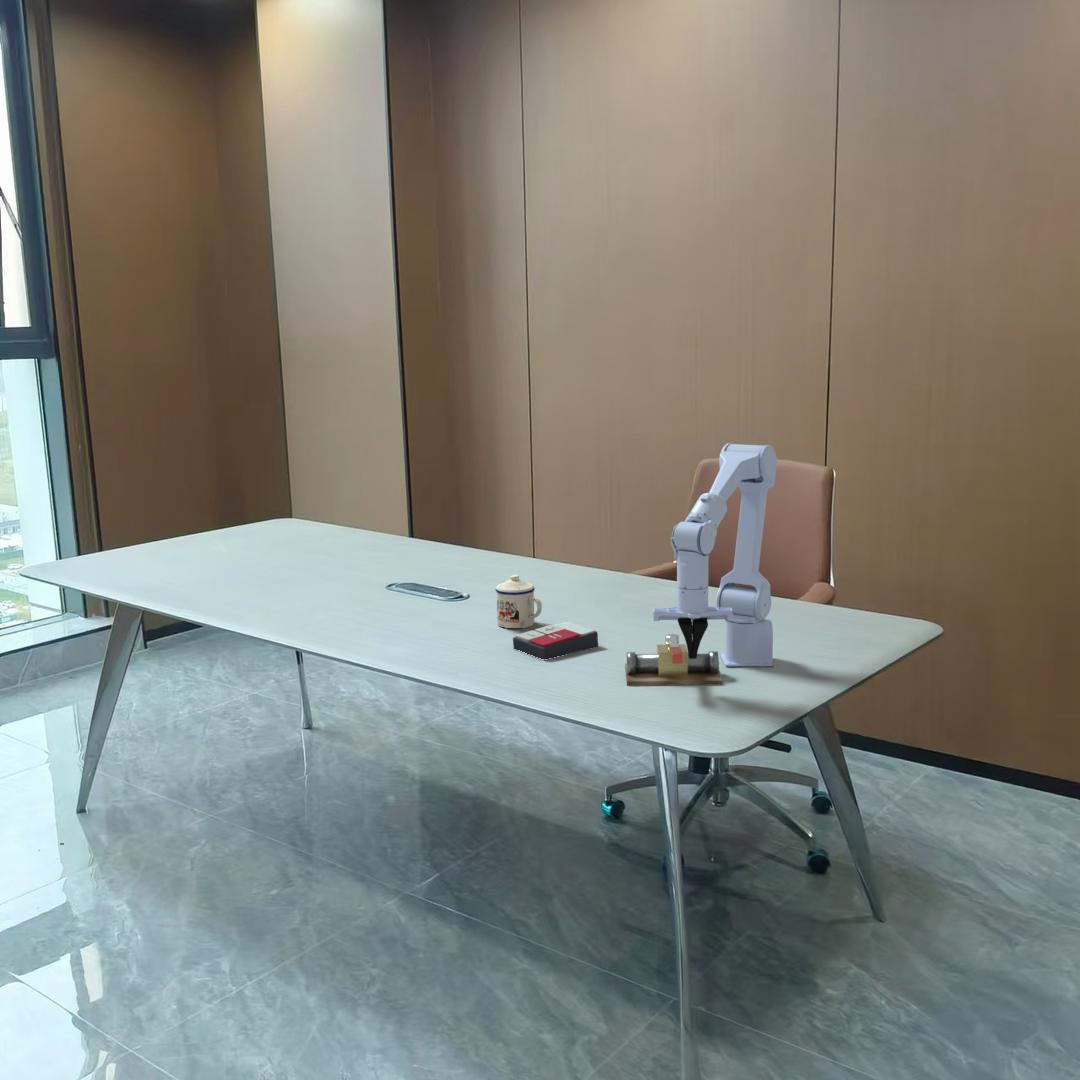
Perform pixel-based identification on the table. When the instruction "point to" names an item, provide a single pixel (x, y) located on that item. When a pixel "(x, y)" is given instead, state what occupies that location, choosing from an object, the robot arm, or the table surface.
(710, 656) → the valve
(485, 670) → the table surface
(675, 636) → the lever
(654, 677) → the board
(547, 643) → the calculator
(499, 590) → the teacup with lid
